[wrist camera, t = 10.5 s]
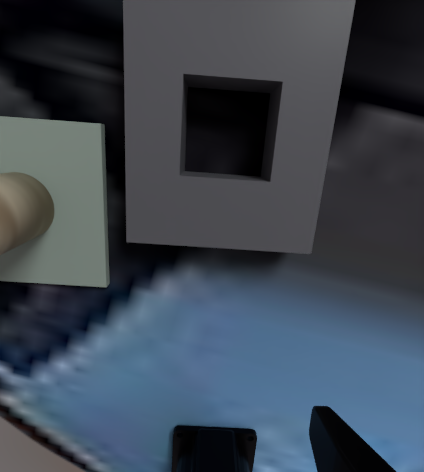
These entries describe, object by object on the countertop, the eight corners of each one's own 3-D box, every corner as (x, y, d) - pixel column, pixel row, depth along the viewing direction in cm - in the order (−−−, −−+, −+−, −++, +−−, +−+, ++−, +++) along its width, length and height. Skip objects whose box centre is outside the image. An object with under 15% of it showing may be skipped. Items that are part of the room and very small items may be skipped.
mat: (109, 283, 20) (106, 287, 19) (-43, 274, 19) (-51, 277, 19) (104, 124, 17) (100, 123, 16) (-74, 111, 17) (-84, 110, 16)
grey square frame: (295, 238, 19) (311, 254, 16) (139, 227, 19) (126, 242, 16) (330, 20, 15) (357, -9, 13) (139, 4, 15) (122, -30, 12)
